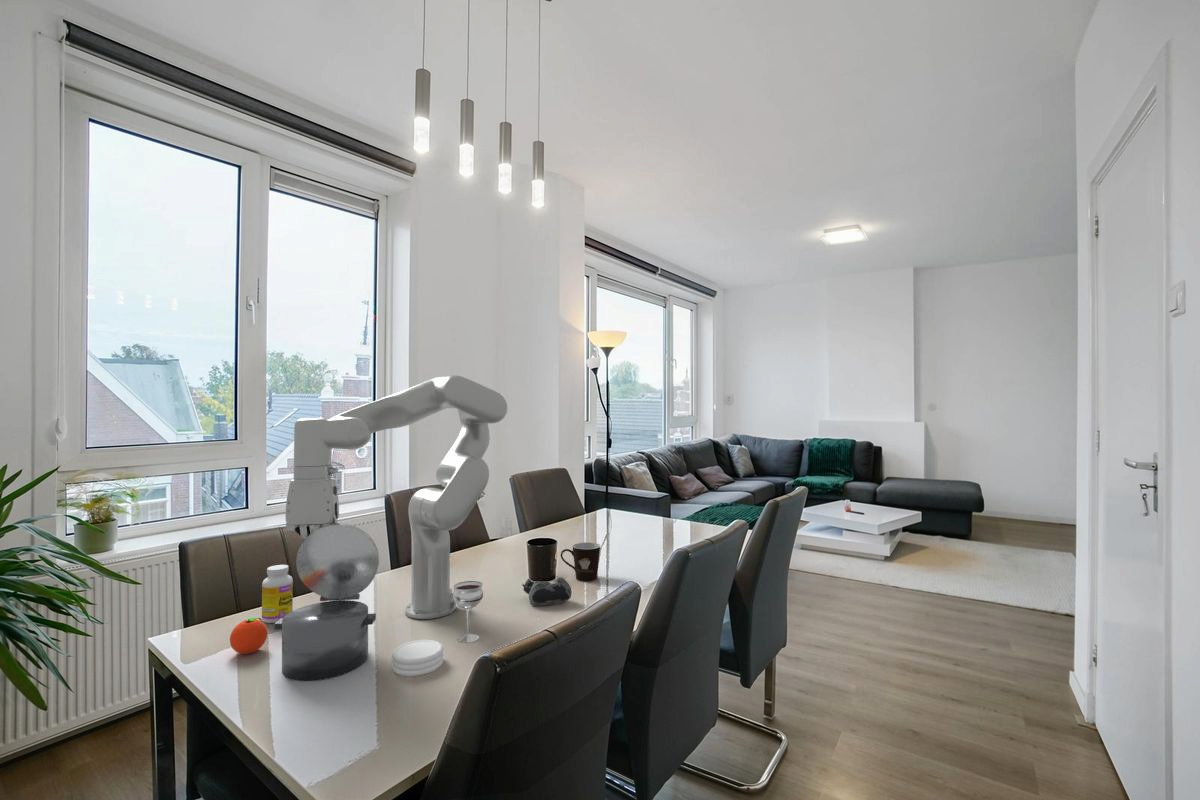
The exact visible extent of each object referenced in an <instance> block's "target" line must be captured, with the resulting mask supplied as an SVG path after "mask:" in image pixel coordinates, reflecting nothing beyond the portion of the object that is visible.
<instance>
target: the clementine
mask: <svg viewBox="0 0 1200 800" xmlns="http://www.w3.org/2000/svg"><path fill="white" fill-rule="evenodd" d="M267 638H268V627H267V626H266V623H265V622H263V621H262V617H251V618H248V619H245V620H243V621H241V622H239V623H238V624H236V626H235V627H234V628H233V629H232V631H231V633H230V636H229V642H230V646H231V647H230V648H231V649H233V650H234V651H235V652H236V653H238V654H240V655H241V654H242V655H246V654H252V653H254V652H256V651H258V650H259V649H261V648H262V647H263V645H264V644H265V642H266V640H267Z"/></svg>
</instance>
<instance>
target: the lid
mask: <svg viewBox="0 0 1200 800" xmlns="http://www.w3.org/2000/svg"><path fill="white" fill-rule="evenodd" d="M376 544H377V543H375V541H374V540H373V539H372V537H371V536H370V535H369V534H368V533H367V532H366V531H364V530H363V529H361V528H360V527H357V526H355V525H351V524H347V523H340V522H339V523H338V522H337V524H329V525H326V526H323V527H320V528H318V529H317V530H315V531H313V530H312V531H311V534H310V535H309V536H308V537H307V538H306V539H305V540H304V541H302V543H301V544H300V546H299V548H298V550H297V552H296V553H297V554H296V560H295V561H296V562H295V563H296V565H295V566H296V571H297V574H298V577H299V578H300V581H301V582H302V583H303V584H304V586H305V587H306V588H308V589H309V591H311V592H312V593H314V594H316V595H318V596H319V602H327V601H338V600H349V601H358V600H360V598H361V596H360V593H361V592H363V591H364V590H366V589H367V588H368V587H369V586H370V584H371V583H372V582H373V580H374V579H375V577H376V575H377V573H378V570H379V566H380V553H379V549H378V547H377V545H376Z"/></svg>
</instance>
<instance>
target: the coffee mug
mask: <svg viewBox="0 0 1200 800" xmlns="http://www.w3.org/2000/svg"><path fill="white" fill-rule="evenodd" d="M571 547H572V550H571V549H569V548H564V549H563V550H562V551H561V552H560V558H561V560H562V561H563V563H564V564H565V565H568V566H569V567H570V568H572V570H574V572H575V579H576V580H577V581H578V582H585V583H586V582H587V583H589V582H594V581H596V580H597V579H598V571H599V570H598V569H599V563H600V554H601V544H600V543H597V542H591V541H590V542H584V541H583V542H577V543H574V544H573V545H572V546H571ZM565 552H569V553H570V554H571V556H572V557H573V563H574V565H572V564H571V563H569V562H568V561H566V559H565V558H564V557H563V553H565Z"/></svg>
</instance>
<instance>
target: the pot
mask: <svg viewBox="0 0 1200 800" xmlns="http://www.w3.org/2000/svg"><path fill="white" fill-rule="evenodd" d="M376 616H377V613H376V612H375V613H369V606H368V605H367V604H366V603H365V602H364V603H363V602H361V601H358V600H337V601H320V602H317V603H312V604H308V605H305V606H302V607H299V608H296V609H294V610H292V612H290V613H288V614H287V615H286V616H284V618H281V619H280V620H278V621H277V622H276V623H274V630H275V631H276V630H277V631H279V630H280V631H281V673H282V675H283V676H284V677H285V678H287V679H290V680H293V681H299V682H312V681H313V682H315V681H322V680H328V679H333V678H337V677H340V676H343V675H346V674H349V673H350V672H353V671H354V670H356V669H358V668H360V667H361V666H363V665H364V664H365V663H366V662H367V660H368V658H369V625H370V626H371V625H373V624H374V622H375V621H376V619H377V617H376Z"/></svg>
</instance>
